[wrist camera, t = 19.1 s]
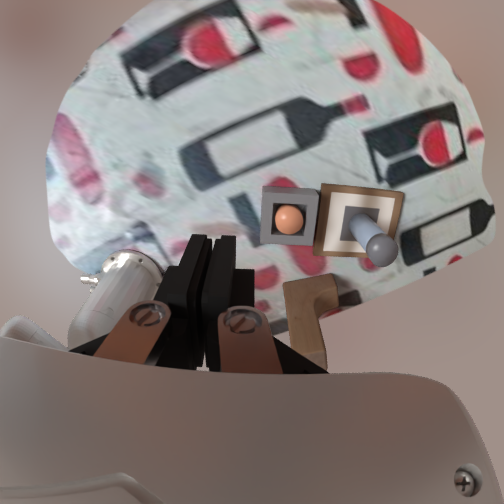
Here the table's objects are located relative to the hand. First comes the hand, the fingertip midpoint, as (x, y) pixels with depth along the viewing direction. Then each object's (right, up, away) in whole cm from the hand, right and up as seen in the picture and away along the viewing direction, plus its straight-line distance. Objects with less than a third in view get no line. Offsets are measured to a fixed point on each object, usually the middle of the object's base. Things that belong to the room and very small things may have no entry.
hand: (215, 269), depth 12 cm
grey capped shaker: (+19, +5, +35) cm, 40 cm away
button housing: (+7, +7, +36) cm, 37 cm away
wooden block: (+12, -6, +43) cm, 44 cm away
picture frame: (+19, +6, +36) cm, 41 cm away
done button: (+7, +6, +34) cm, 36 cm away
